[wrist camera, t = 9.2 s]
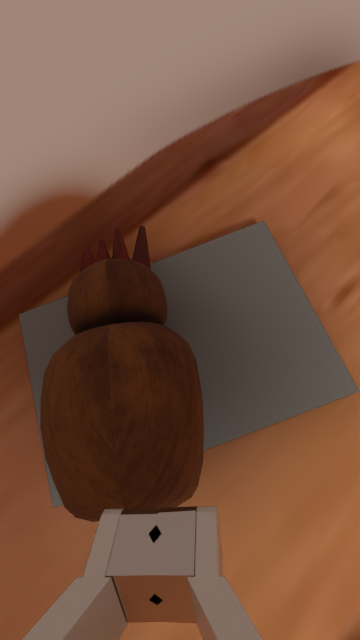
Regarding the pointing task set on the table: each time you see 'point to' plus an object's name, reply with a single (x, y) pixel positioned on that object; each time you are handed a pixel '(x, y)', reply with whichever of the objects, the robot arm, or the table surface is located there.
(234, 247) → the rubber mat
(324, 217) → the table surface
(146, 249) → the wooden figurine
